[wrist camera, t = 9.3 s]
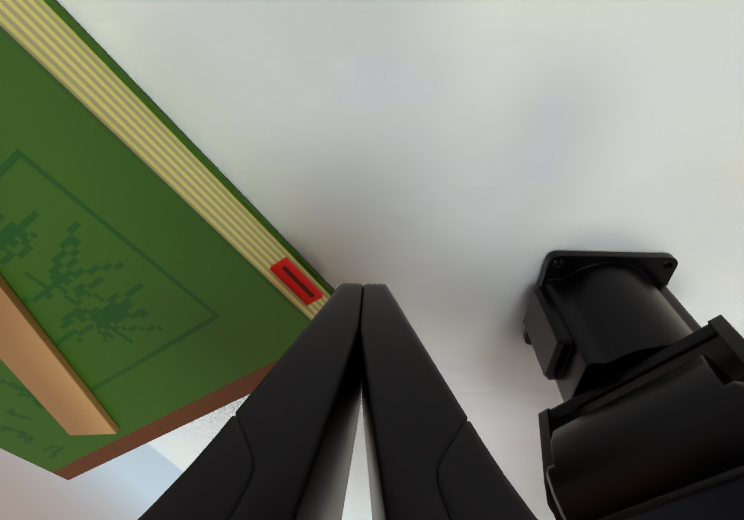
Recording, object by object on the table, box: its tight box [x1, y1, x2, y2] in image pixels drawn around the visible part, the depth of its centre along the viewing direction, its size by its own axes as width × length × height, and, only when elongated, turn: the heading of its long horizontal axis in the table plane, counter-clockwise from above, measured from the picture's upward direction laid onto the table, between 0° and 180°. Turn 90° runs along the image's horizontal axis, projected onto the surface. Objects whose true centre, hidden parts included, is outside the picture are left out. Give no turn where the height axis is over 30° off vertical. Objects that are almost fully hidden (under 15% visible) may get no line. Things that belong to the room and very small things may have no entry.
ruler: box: [0, 275, 119, 435], centre depth 20 cm, size 3×18×1 cm, turn 6°
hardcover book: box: [0, 0, 335, 480], centre depth 22 cm, size 25×19×4 cm
